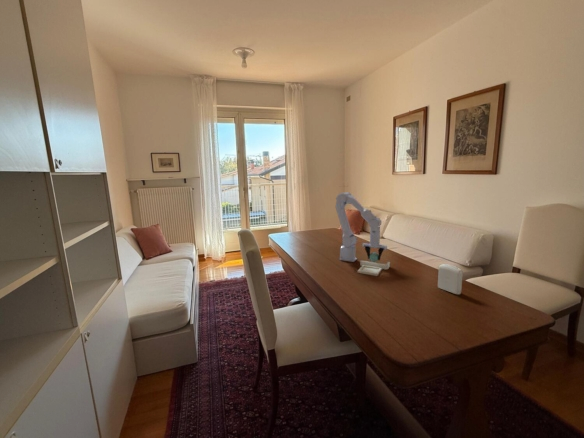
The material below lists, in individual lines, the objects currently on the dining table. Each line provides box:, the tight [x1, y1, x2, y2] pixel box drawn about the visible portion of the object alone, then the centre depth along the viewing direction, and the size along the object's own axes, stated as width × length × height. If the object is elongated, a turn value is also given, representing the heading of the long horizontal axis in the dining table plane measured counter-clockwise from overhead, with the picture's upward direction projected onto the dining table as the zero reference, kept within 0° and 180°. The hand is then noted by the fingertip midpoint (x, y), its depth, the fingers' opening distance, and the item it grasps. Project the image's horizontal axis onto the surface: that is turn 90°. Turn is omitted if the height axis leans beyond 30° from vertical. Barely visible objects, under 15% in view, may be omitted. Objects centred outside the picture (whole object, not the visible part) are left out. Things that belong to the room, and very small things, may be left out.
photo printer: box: [437, 263, 464, 295], centre depth 123 cm, size 10×4×12 cm, turn 26°
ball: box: [369, 252, 379, 263], centre depth 163 cm, size 6×6×6 cm
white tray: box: [357, 265, 383, 277], centre depth 150 cm, size 11×11×1 cm
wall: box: [359, 260, 391, 271], centre depth 159 cm, size 16×6×3 cm, turn 60°
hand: (373, 259), depth 163 cm, fingers closed on ball, 6 cm apart
